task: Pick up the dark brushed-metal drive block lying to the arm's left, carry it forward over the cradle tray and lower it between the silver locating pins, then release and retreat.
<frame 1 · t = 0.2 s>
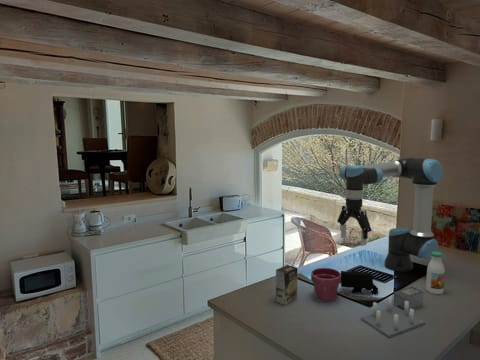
hand: (353, 241, 167), 28 cm above the kitchen island, fingers open, 13 cm apart
drive: (408, 306, 160), on the kitchen island
security camera: (358, 292, 174), on the kitchen island
milk bottle: (434, 291, 173), on the kitchen island
cradle tray: (392, 321, 147), on the kitchen island
plant pot: (325, 298, 169), on the kitchen island
coffee box: (286, 300, 168), on the kitchen island
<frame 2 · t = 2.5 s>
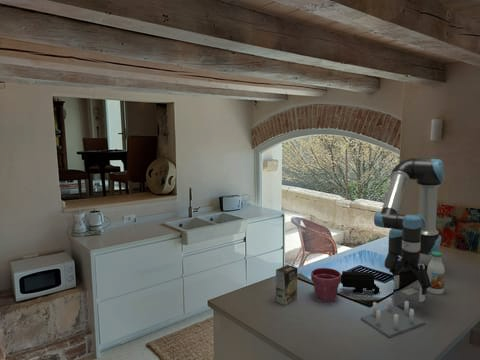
hand: (408, 294, 158), 6 cm above the kitchen island, fingers open, 13 cm apart
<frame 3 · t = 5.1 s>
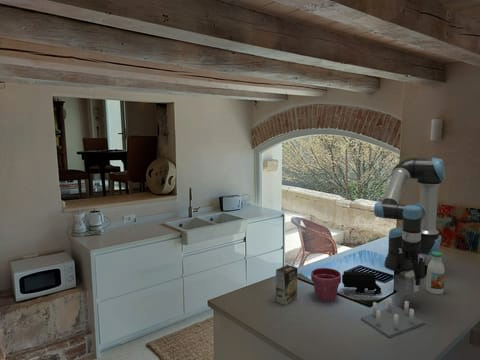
hand: (409, 288, 159), 9 cm above the kitchen island, fingers closed on drive, 6 cm apart
drive: (408, 289, 159), point 8 cm above the kitchen island, touching gripper
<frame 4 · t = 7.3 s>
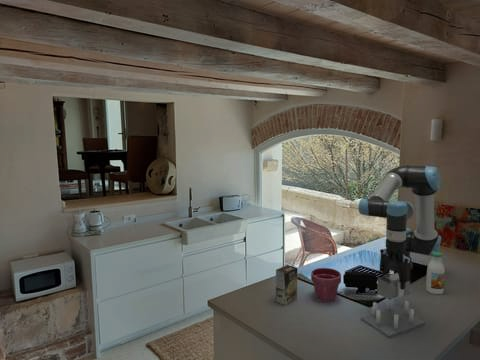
hand: (393, 292, 145), 13 cm above the kitchen island, fingers closed on drive, 6 cm apart
drive: (393, 293, 145), point 13 cm above the kitchen island, touching gripper
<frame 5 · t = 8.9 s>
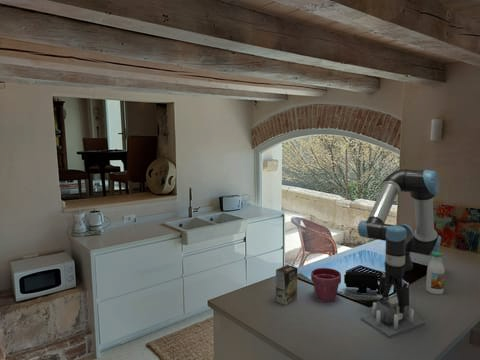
hand: (392, 315, 147), 3 cm above the kitchen island, fingers closed on drive, 6 cm apart
drive: (392, 316, 147), point 2 cm above the kitchen island, touching gripper
when the fingers open (2 cm above the kitchen island, at t = 9.9 s): drive stays where it is, resting on cradle tray.
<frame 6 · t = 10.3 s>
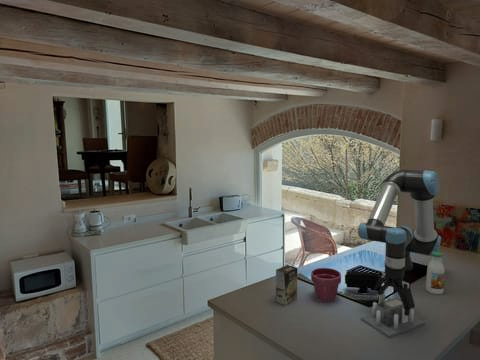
hand: (392, 315, 147), 3 cm above the kitchen island, fingers open, 11 cm apart
drive: (392, 319, 147), point 1 cm above the kitchen island, touching cradle tray
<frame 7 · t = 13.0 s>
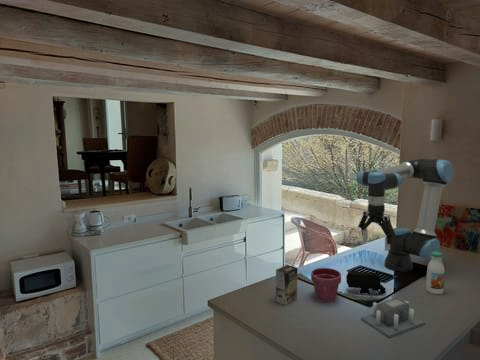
hand: (375, 246, 170), 24 cm above the kitchen island, fingers open, 13 cm apart
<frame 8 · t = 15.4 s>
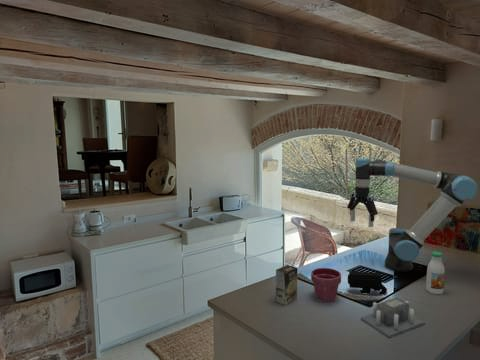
hand: (361, 224, 193), 29 cm above the kitchen island, fingers open, 13 cm apart
at the end: drive 0.1 cm off-centre on the cradle tray, point 1.0 cm above the cradle tray's base; drive tilted 0°; the gripper is holding nothing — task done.
